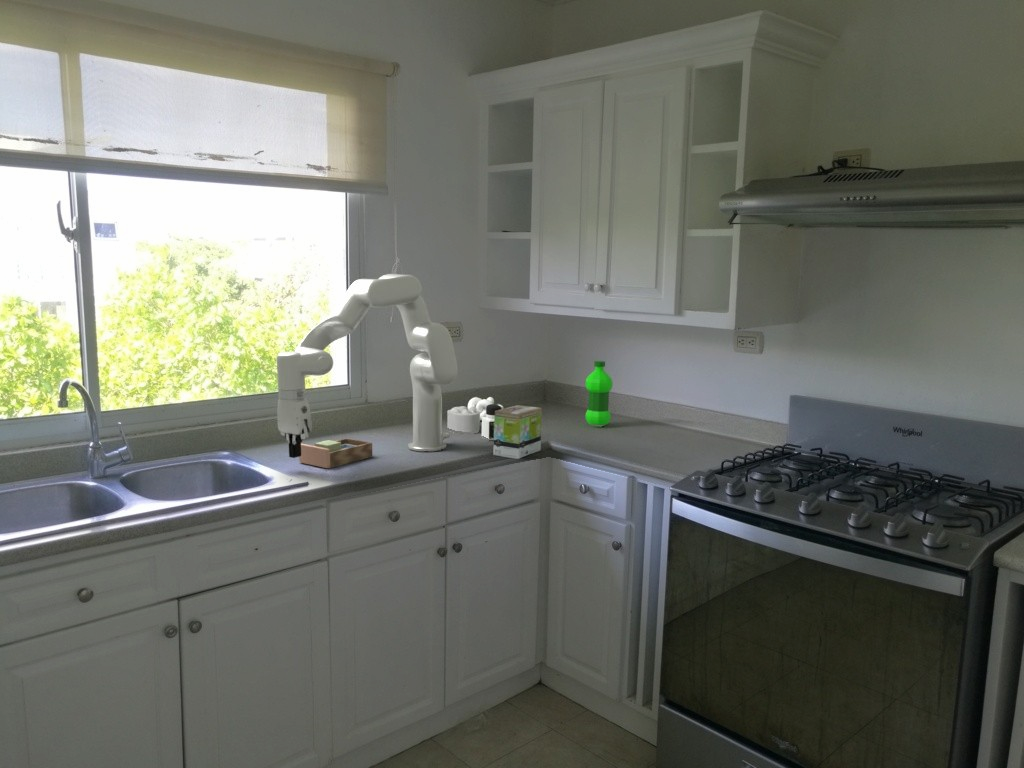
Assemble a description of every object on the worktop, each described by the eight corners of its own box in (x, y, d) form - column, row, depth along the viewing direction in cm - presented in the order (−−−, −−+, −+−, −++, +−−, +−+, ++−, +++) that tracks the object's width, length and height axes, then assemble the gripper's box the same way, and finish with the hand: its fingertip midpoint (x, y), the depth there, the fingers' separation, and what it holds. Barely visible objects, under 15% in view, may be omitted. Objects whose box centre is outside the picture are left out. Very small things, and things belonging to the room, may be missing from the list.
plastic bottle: (599, 422, 311) (601, 359, 307) (616, 427, 302) (618, 362, 299) (579, 424, 306) (580, 360, 302) (595, 429, 297) (597, 363, 293)
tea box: (519, 459, 249) (520, 413, 247) (492, 455, 254) (492, 410, 252) (541, 450, 262) (542, 406, 260) (515, 447, 267) (515, 403, 265)
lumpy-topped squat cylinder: (467, 426, 300) (467, 403, 299) (486, 432, 290) (486, 409, 288) (443, 429, 294) (443, 406, 293) (462, 435, 284) (462, 411, 282)
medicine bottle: (488, 441, 275) (489, 407, 273) (481, 436, 282) (481, 403, 280) (507, 439, 278) (508, 405, 276) (499, 435, 284) (500, 402, 283)
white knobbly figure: (472, 424, 305) (472, 401, 303) (463, 418, 316) (463, 396, 314) (500, 422, 309) (500, 399, 307) (489, 416, 320) (490, 395, 318)
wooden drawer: (342, 451, 255) (342, 434, 254) (370, 456, 249) (369, 439, 248) (299, 462, 240) (298, 444, 239) (327, 468, 234) (326, 449, 233)
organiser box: (346, 451, 256) (346, 438, 255) (372, 456, 250) (372, 442, 249) (304, 462, 241) (303, 448, 241) (329, 468, 235) (329, 453, 235)
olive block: (328, 452, 245) (328, 440, 245) (341, 455, 242) (340, 442, 242) (315, 456, 241) (314, 443, 240) (327, 458, 238) (327, 445, 237)
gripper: (320, 395, 227) (323, 457, 230) (285, 390, 235) (288, 450, 238) (299, 399, 221) (303, 463, 224) (264, 394, 229) (268, 455, 232)
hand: (295, 456), depth 231 cm, fingers closed
